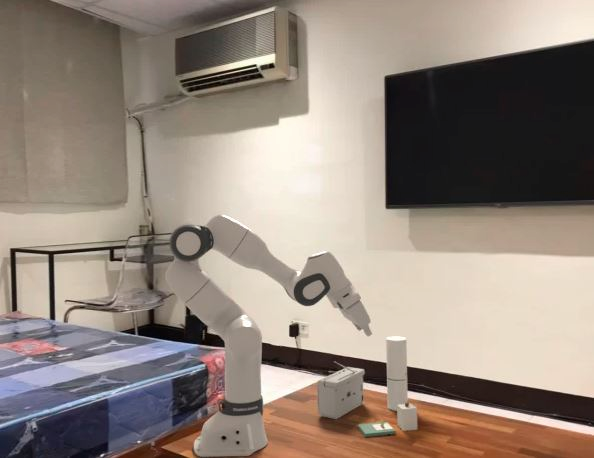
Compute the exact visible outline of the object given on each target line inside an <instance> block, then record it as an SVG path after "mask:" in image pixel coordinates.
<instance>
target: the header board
mask: <svg viewBox="0 0 594 458" xmlns="http://www.w3.org/2000/svg"><path fill="white" fill-rule="evenodd" d="M357 428H358V430H359V431H360V433H362V435H363V436H364V437H365V438H368V437H377V436H379V437H380V436H387V435H388V434H390V435H396V433H397V432H396V431H397V430H395V428H394V427H393V426H391V424H390V423H389V422H388V421H384V420H383V419H381V418H380V422H371V423H369V422H368V423H361V424H357ZM388 436H389V435H388Z"/></svg>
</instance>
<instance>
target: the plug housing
mask: <svg viewBox="0 0 594 458" xmlns="http://www.w3.org/2000/svg"><path fill="white" fill-rule="evenodd" d="M396 412H397V413H396V418H397V422H396V423H397V425H398V426H399V427H398V426H397V427H398V428H399V429H400V428H401V429H402V430H401V429H400V430H401V431H402V432H406V431H407V430H408V431H417V430H418V407H416V406H415V405H414V404H413V403H411V402H410V403H409V402H408V403H405V404H399V405H397V411H396ZM408 431H407V432H408Z"/></svg>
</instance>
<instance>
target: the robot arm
mask: <svg viewBox="0 0 594 458" xmlns="http://www.w3.org/2000/svg"><path fill="white" fill-rule="evenodd" d="M169 247H170V251H171V253H172V254H173V256H174V259H173V261H172V263H171V264H170V265H169V266H168V267H167V269H166V271H165V275H164V279H165V282H166V284H167V285H168V286H169V288H170V289H171V291H172V292H173V293H174V294H175V296H176V297H177V298H178V299H179V300H180V301H181V302H182V303H183V304H184V305H185V306H186V307H187V308H188V309H189V310H190V312H192V313H193V315H195V317H197V318H198V319H199V320H200V321H201V322H202V323H203V324H204V325H206V326H207V327H209V328H210V329H211V330H212V331H213V332H214V333H216V335H218V336H219V337H220V339H222V340H223V342H224V392H225V393H224V395H225V396H224V397H222V396H218V397H217V398H216V404H217V405H218V411H217V412H216V413H215V414H214V415H212V416H211V417H209V419H207V420H206V421H205V422H204V424H203V425H202V428H201V431H200V435H199V436H198V437H197V438H195V440H194V443H193V452H194V454H195V455H196V456H197V457H201V458H202V457H203V458H204V457H205V458H206V457H207V458H209V457H211V458H213V457H247V456H250V455H253V453H255V452H256V451H259V450H261V449H263V448H264V447H266V446H267V445H268V442H269V440H268V438H267V434H266V431H265V424H264V420H263V419H264V418H263V417H264V397H263V395H262V354H263V353H262V352H263V349H262V348H263V334H262V331H261V329H260V328H259V326H258V324H257V323H256V321H255V320H254V319H253V318H252V317H251V316H250V315H249V314H248V313H247V312H246V311H245V309H243V308H242V307H241V306H240V305H239V304H238V303H237V302H236V301H235V300H234V299H232V297H231V296H229V294H227V292H225V290H223V288H222V287H220V286H219V284H218V283H216V282H215V280H213V278H211V277H210V275H209V274H207V273H206V272H205V271H204V269H203V268H202V266H201V265H200V262H199V261H200V260H199V259H200V258H202V257H203V256H204V255H205V254H206V253H208V252H209V251H210V250H214V251H216V252H219V253H220V254H222V255H223V256H225V257H226V258H228V260H230V261H232V262H234V263H235V264H237V265H239V266H241V267H244V268H246V269H251V270H256V271H260V272H262V273H263V274H265V275H266V276H268V277H269V278H271V279H272V280H273V281H275V282H277V283H278V284H280V285H281V286H282V287H283V289H284V291H285V292H286V294H287V295H288V297H289V298H290V299H291V300H293V301H294V302H297V303H298V304H300V305H302V306H304V307H312V306H314V305H316V304H317V303H319V302H320V301H321V300H323V298H324V297H327V299H328V301H329V302H330V304H331V306H332V307H333V308H334V309H338V310H339V311H340V313H341V314H342V315H343V318H345V319H347V320H348V321H350V322H351V323H352V324H353V325H354V327H355V328H356V330H357V331H359V332H360V331H361V330H363V333H364V334H365V336H367V337H371V335H373V332H372V330H371V329H370V325H369V324H370V323H371V321H372V320H371V318H370V316H369V314H368V312H367V309H366V308H365V305H364V303H362V301H361V299H362V298H361V295H360V294H359V293H358V292H357V290H356V289H355V287H354V285H353V283H352V282H351V281H350V279H349V278H348V277H347V276H346V275H345V272H344V269H343V268H342V265H341V264H340V263H339V261H338V260H337V259H336V257H335V256H334V254H333V253H331V252H330V251H326V250H323V251H318V252H316V253H313V254H311V255H310V256H308V257H307V260H306V263H305V265H304V267H303V268H302V270H296V269H294V268H291V267H290V266H289V265H287V264H286V263H284V262H283V261H281V260H280V259H278V258H277V257H276V256H274V255H273V254H272V253H271V251H270V250H269V248H268V246H267V243H266V242H265V241H264V240H263V239H262V237H260V236H259V235H258V234H257V233H256V232H254V231H253V230H251V229H250V228H249V227H247V226H246V225H244V224H242V223H241V222H239V221H238V220H235V219H233V218H232V217H229V216H227V215H225V214H218V215H214V216H213V217H211V218H210V220H209V221H208V222H207V223H206V224H205V225H197V224H193V223H184V224H180V225H178V226H177V227H176V228H175V229H173V231H172V232H171V234H170V237H169Z"/></svg>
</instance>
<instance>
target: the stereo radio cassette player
mask: <svg viewBox="0 0 594 458" xmlns="http://www.w3.org/2000/svg"><path fill="white" fill-rule="evenodd" d="M333 363H335V364H337V365H338V366H341V367H342V368H343V369H340V370H338V371H336V372H334V373H332V374H329V375H327V376H325V377H323V378H321V379H318V381H317V391H316V392H317V393H316V394H317V412H318V413H317V414H318V415H320V416H321V417H323V418H328V419H334V420H339V418H341V417H342V416H345V415H346V414H348V413H350V412H352V411H354V410H355V409H357V408H358V407H359V406H362V405H363V404H364V375H365V373H366V371H365V369H364V368H359V367H351V366H345V365H343V364H341V363H338V362H337V361H333Z"/></svg>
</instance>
